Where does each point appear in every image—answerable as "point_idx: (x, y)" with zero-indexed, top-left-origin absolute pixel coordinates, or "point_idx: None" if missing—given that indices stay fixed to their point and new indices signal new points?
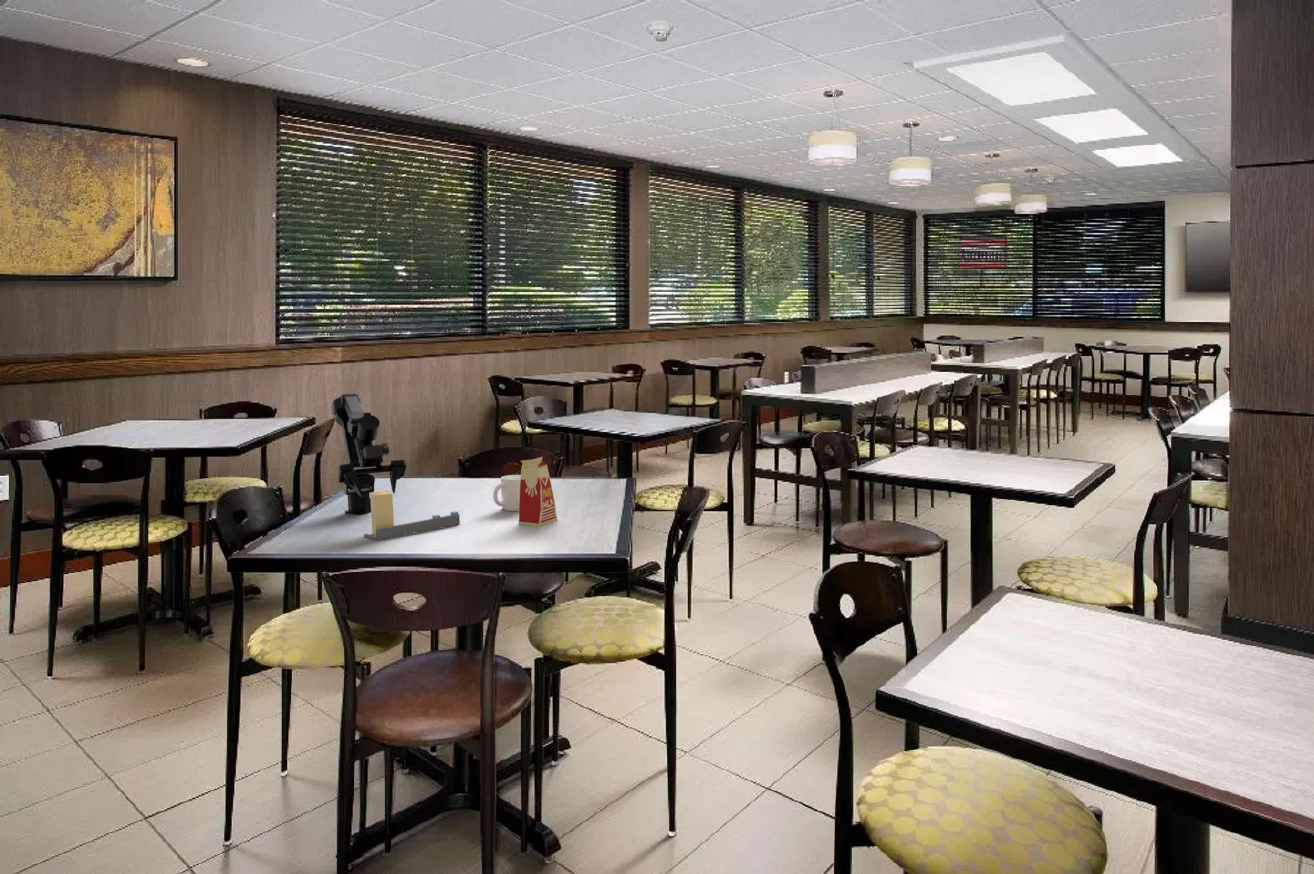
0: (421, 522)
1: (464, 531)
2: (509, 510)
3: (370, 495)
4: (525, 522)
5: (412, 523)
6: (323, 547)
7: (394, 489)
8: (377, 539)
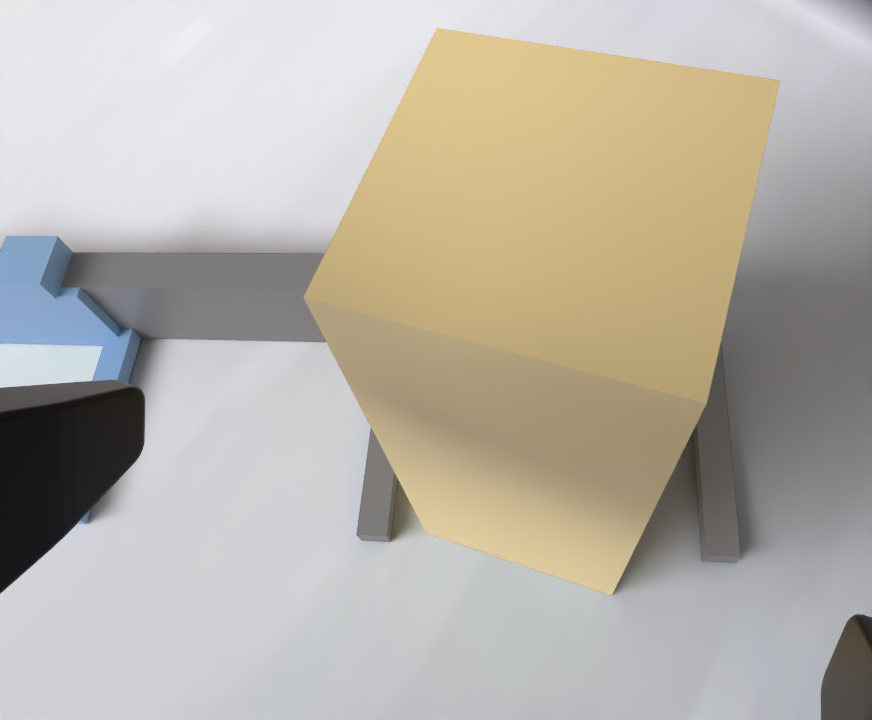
0: (223, 259)
1: (81, 115)
2: None
3: (694, 421)
4: None
5: (316, 255)
6: None
7: (98, 382)
8: None
